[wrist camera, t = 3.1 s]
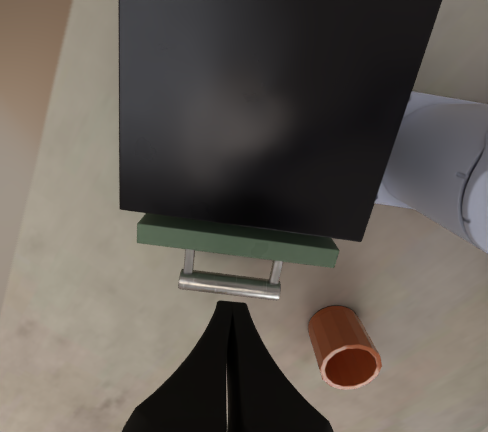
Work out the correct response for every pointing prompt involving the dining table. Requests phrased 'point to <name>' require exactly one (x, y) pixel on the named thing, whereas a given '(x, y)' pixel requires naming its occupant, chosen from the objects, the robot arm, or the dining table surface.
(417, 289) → the dining table surface
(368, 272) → the dining table surface
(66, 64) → the dining table surface
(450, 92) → the dining table surface
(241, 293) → the green drawer
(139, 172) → the drawer cabinet
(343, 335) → the cup
